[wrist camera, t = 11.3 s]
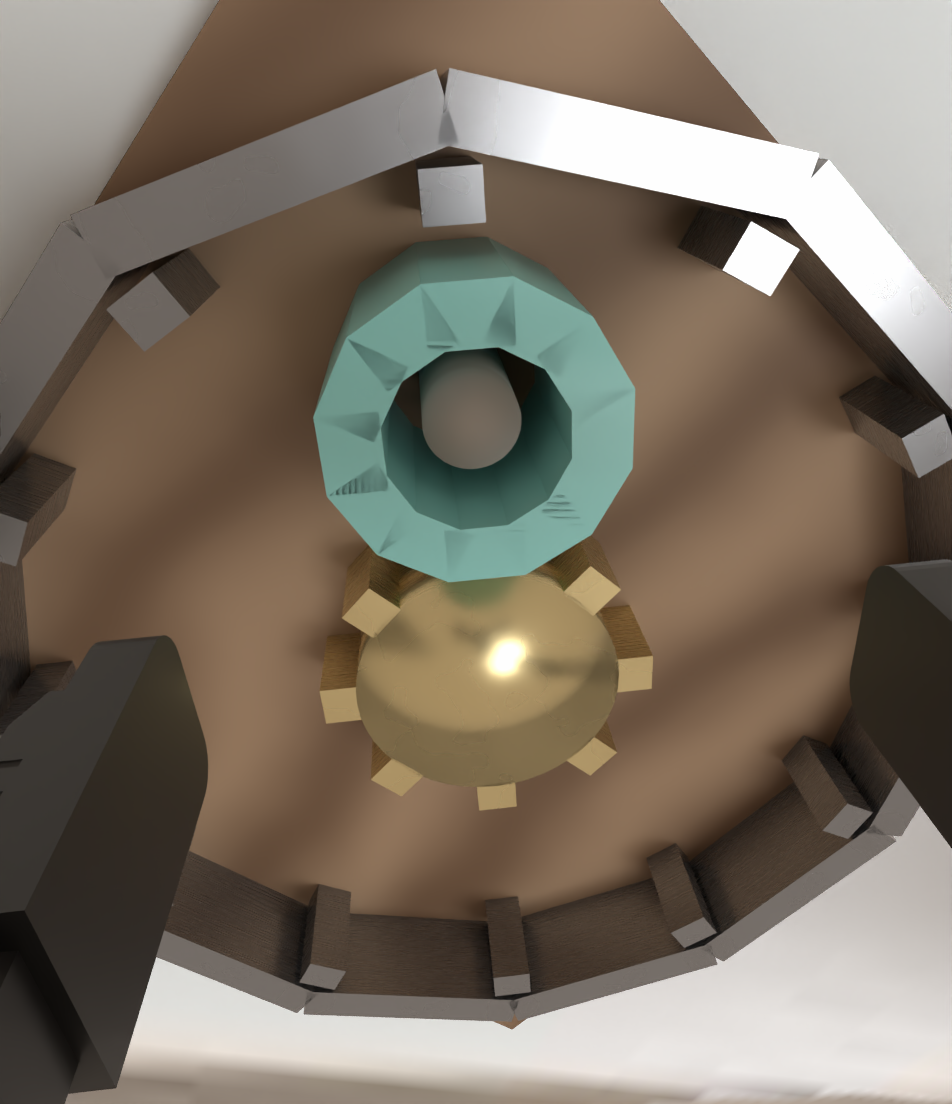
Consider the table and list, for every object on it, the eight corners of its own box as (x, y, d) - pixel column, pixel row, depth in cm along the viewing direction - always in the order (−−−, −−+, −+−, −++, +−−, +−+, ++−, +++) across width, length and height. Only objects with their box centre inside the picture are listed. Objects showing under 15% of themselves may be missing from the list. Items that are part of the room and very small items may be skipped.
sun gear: (690, 614, 24) (719, 665, 22) (492, 790, 26) (501, 851, 24) (465, 435, 20) (472, 474, 18) (267, 658, 23) (253, 715, 21)
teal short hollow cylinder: (628, 309, 19) (694, 368, 15) (512, 514, 22) (540, 617, 17) (397, 190, 18) (395, 216, 13) (300, 426, 20) (272, 515, 16)
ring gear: (1118, 569, 24) (1205, 625, 22) (511, 1023, 33) (521, 1102, 30) (408, -271, 14) (410, -359, 11) (-199, 706, 23) (-277, 784, 20)
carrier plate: (1094, 545, 26) (1255, 645, 21) (507, 994, 34) (525, 1137, 30) (405, -269, 15) (407, -445, 10) (-181, 675, 24) (-326, 816, 19)
